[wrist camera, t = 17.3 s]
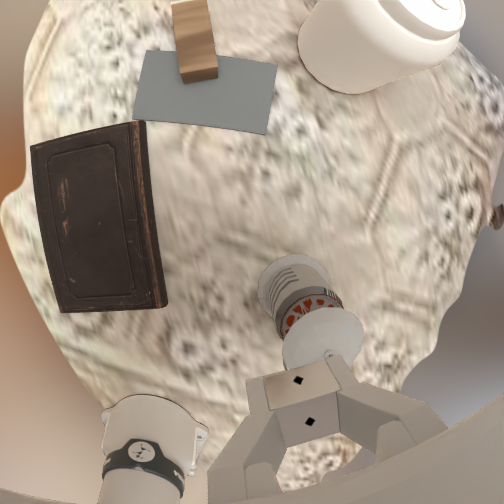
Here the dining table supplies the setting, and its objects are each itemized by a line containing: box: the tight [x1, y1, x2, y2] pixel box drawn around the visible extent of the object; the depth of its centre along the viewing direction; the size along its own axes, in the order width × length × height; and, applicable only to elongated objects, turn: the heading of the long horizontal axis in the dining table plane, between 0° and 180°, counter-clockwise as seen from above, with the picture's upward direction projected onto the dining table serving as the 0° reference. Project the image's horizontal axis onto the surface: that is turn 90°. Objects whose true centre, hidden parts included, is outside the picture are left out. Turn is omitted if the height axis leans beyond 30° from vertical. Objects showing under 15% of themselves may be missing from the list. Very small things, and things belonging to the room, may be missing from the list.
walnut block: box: [171, 0, 218, 84], centre depth 29 cm, size 4×4×10 cm
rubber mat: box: [132, 50, 278, 135], centre depth 33 cm, size 9×16×1 cm, turn 81°
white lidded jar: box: [297, 0, 466, 94], centre depth 23 cm, size 12×12×20 cm
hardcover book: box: [30, 120, 168, 313], centre depth 36 cm, size 16×23×2 cm
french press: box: [257, 254, 365, 371], centre depth 30 cm, size 10×12×25 cm
